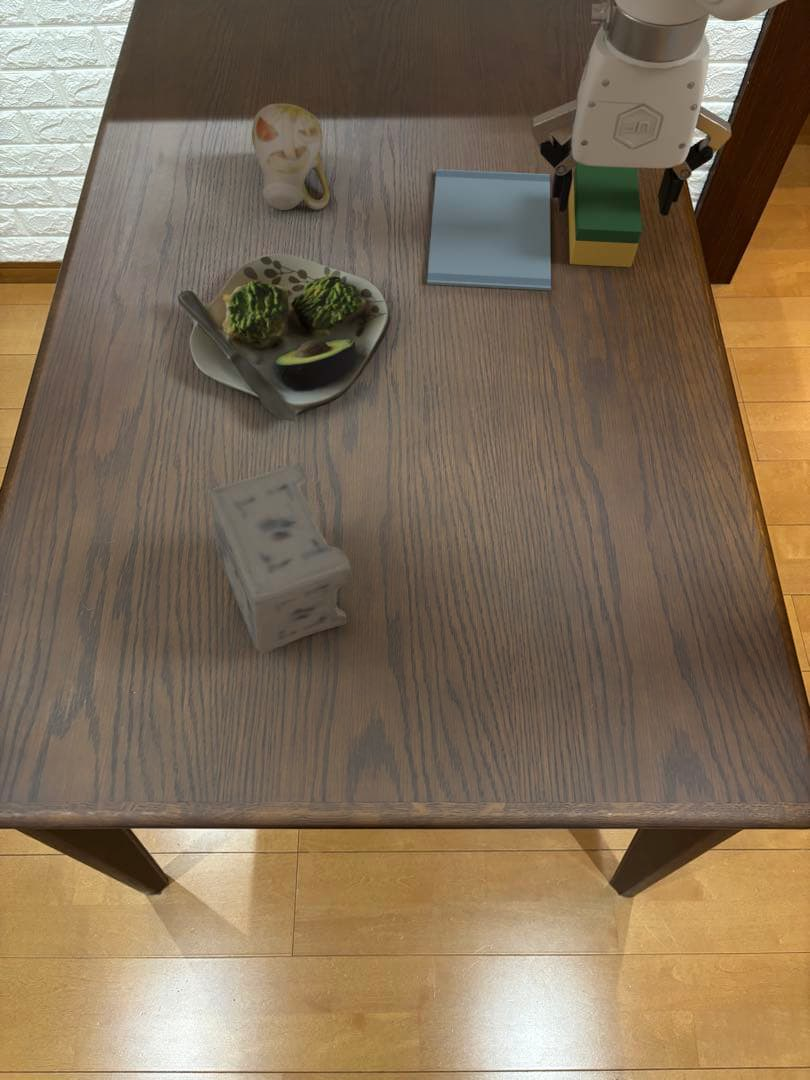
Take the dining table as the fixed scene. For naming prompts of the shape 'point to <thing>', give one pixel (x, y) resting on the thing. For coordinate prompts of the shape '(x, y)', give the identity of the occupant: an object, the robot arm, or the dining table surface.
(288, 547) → the incense holder
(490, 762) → the dining table surface
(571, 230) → the scrubber
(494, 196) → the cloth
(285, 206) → the mug
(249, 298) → the salad plate
